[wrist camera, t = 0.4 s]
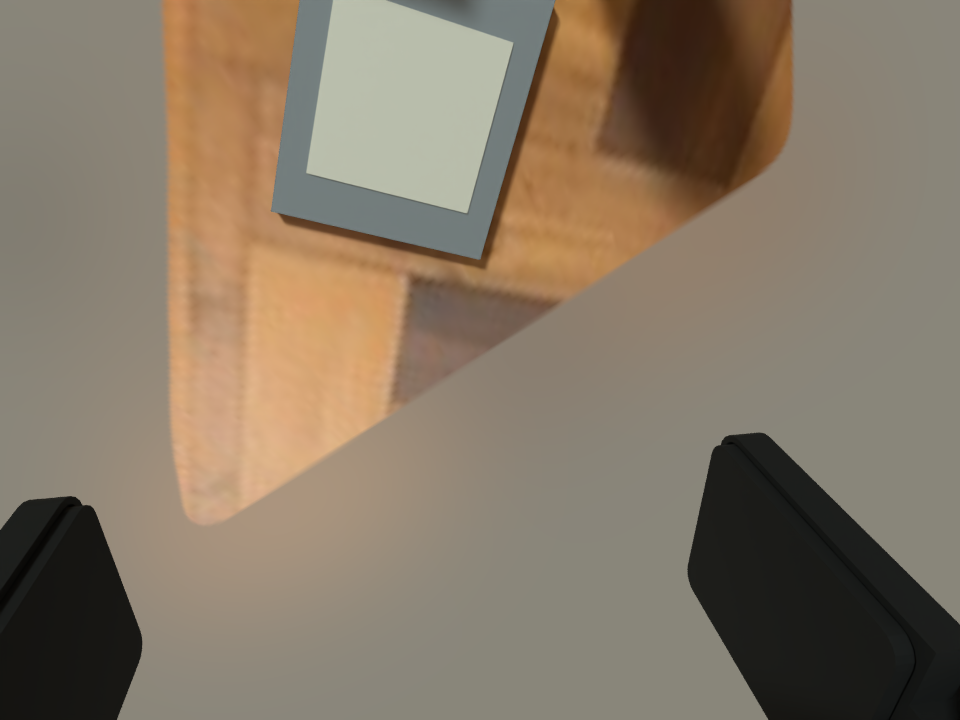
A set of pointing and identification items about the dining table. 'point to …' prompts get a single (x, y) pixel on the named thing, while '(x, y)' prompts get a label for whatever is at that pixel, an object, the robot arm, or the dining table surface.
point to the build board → (406, 115)
